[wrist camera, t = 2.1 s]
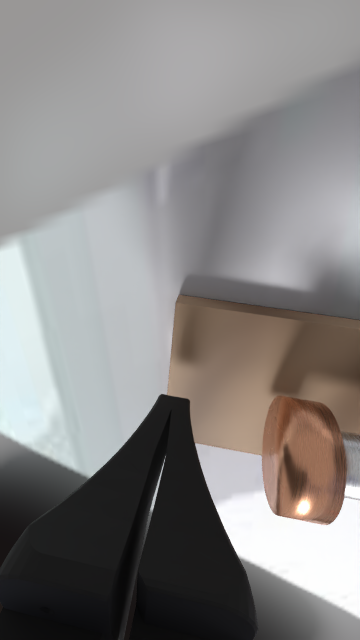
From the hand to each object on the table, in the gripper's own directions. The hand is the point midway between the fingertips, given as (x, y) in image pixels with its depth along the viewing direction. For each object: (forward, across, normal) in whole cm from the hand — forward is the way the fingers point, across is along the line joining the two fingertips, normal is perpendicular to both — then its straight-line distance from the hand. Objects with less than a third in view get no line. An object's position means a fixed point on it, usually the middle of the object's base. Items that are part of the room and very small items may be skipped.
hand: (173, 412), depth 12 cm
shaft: (+1, -9, 0) cm, 9 cm away
